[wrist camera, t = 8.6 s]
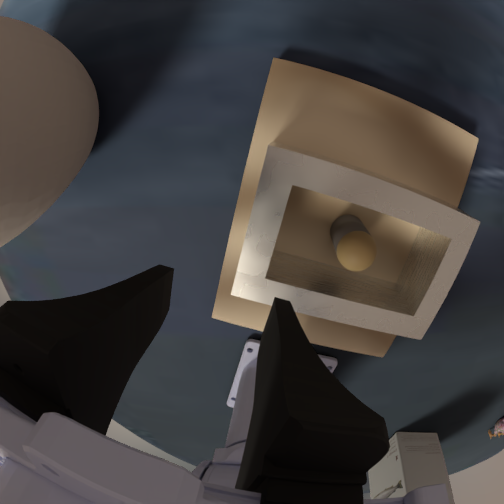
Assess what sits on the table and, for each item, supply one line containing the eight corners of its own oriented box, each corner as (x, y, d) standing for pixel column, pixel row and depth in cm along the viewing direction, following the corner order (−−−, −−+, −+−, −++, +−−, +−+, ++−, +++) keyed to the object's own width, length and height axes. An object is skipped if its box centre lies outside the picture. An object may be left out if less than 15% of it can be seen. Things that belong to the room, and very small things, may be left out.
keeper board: (379, 345, 23) (393, 394, 18) (216, 306, 23) (197, 354, 18) (467, 137, 16) (515, 145, 11) (274, 62, 16) (268, 37, 11)
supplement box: (395, 430, 28) (411, 520, 16) (438, 431, 28) (458, 510, 16) (364, 458, 31) (370, 538, 20) (406, 459, 31) (417, 530, 20)
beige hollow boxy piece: (403, 305, 20) (420, 339, 16) (242, 263, 20) (230, 294, 16) (449, 202, 16) (480, 221, 13) (273, 141, 17) (268, 144, 13)
